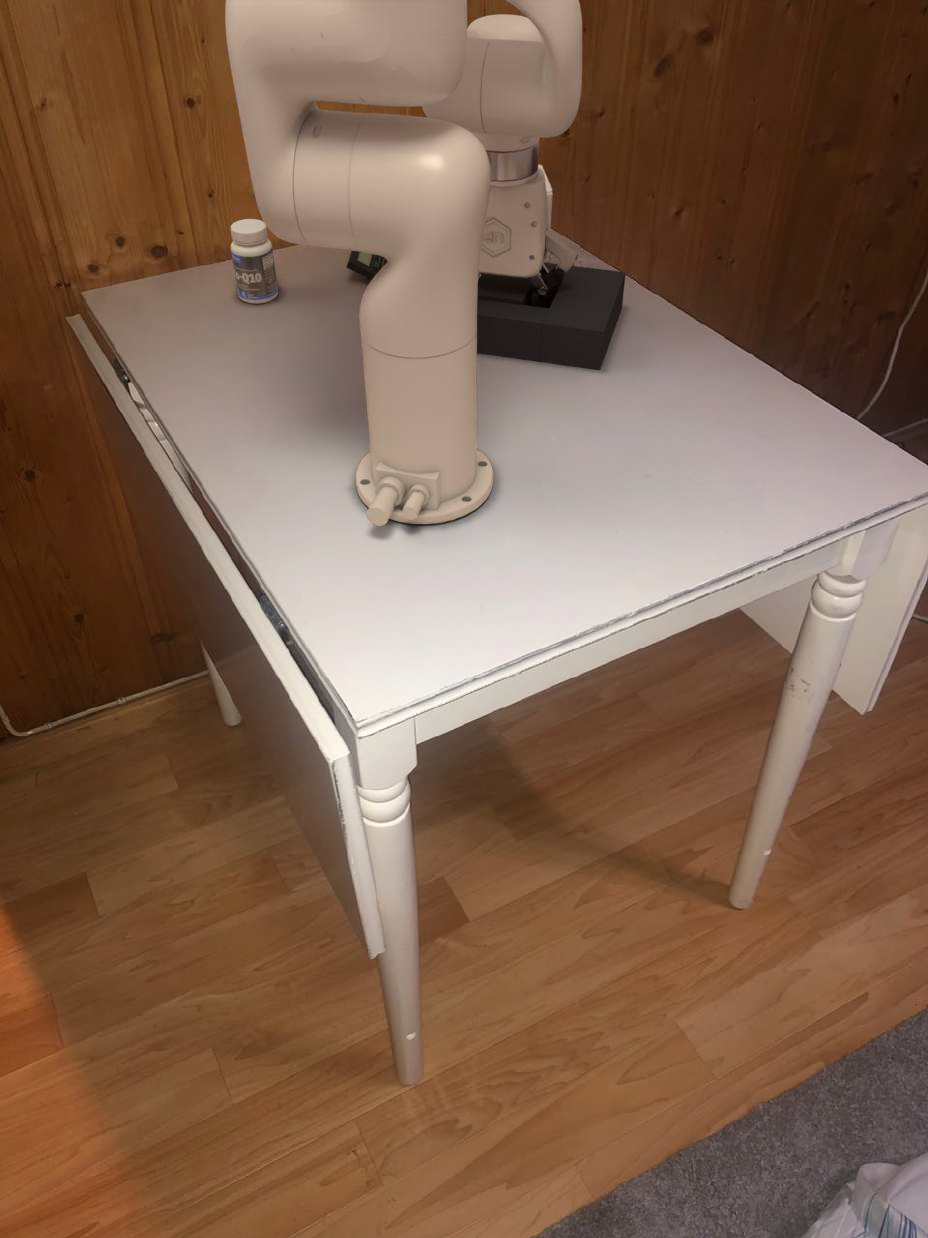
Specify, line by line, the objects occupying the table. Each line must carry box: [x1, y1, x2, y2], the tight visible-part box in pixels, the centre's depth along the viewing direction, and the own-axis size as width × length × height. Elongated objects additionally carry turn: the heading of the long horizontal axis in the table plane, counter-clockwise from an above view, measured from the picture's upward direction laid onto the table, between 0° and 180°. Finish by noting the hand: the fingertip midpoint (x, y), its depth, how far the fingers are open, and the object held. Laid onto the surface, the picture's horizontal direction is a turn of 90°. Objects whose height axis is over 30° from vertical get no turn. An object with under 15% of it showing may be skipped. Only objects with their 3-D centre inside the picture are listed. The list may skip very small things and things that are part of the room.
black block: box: [477, 273, 535, 306], centre depth 114 cm, size 6×6×4 cm
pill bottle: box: [230, 218, 279, 305], centre depth 117 cm, size 5×5×8 cm
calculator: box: [346, 250, 387, 281], centre depth 124 cm, size 9×12×3 cm
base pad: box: [477, 262, 627, 371], centre depth 113 cm, size 16×14×4 cm
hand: (497, 317), depth 114 cm, fingers open, 8 cm apart
